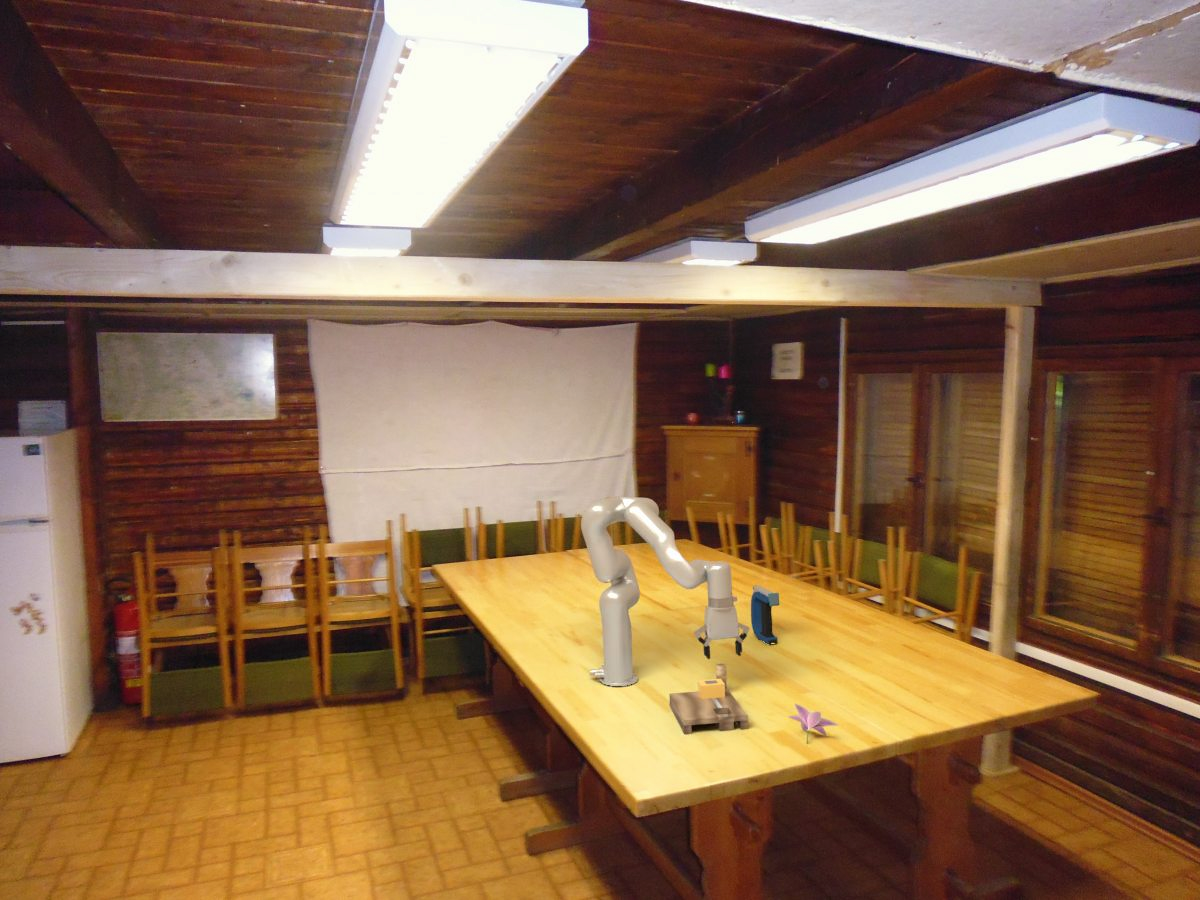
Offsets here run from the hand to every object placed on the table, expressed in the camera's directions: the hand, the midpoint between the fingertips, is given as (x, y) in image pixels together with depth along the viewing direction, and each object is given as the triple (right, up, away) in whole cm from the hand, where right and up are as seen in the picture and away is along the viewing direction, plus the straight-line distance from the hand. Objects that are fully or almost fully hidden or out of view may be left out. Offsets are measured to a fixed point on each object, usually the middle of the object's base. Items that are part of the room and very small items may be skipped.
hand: (723, 656), depth 252 cm
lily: (+19, -14, -33) cm, 40 cm away
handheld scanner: (+24, -8, +52) cm, 58 cm away
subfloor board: (-7, -14, -17) cm, 23 cm away
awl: (0, -12, +1) cm, 12 cm away
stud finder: (-5, -9, -11) cm, 15 cm away
